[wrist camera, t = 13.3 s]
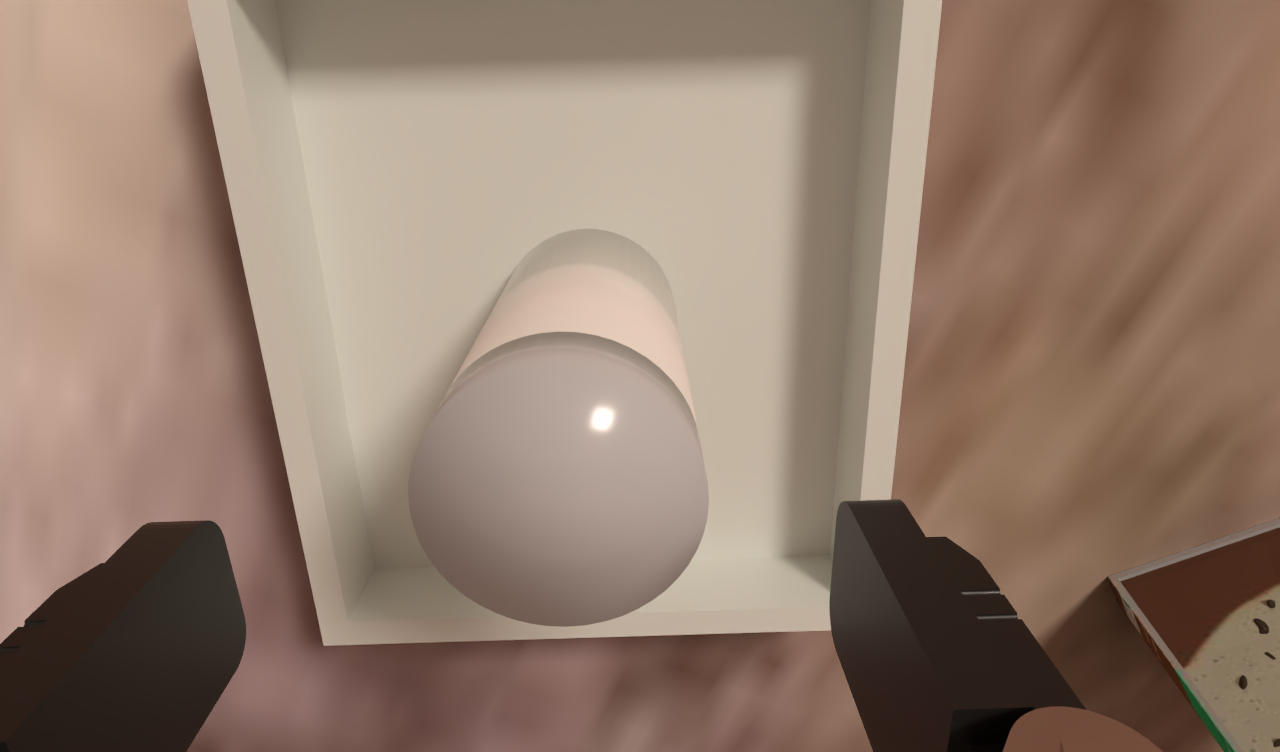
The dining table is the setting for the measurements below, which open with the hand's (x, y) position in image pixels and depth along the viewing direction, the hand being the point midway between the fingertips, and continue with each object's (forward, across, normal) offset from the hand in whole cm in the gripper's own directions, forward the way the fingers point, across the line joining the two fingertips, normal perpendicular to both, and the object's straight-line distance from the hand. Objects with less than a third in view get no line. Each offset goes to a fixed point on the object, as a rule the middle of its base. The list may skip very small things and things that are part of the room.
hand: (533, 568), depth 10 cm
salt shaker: (+12, 0, 0) cm, 12 cm away
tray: (+13, 0, 0) cm, 13 cm away
